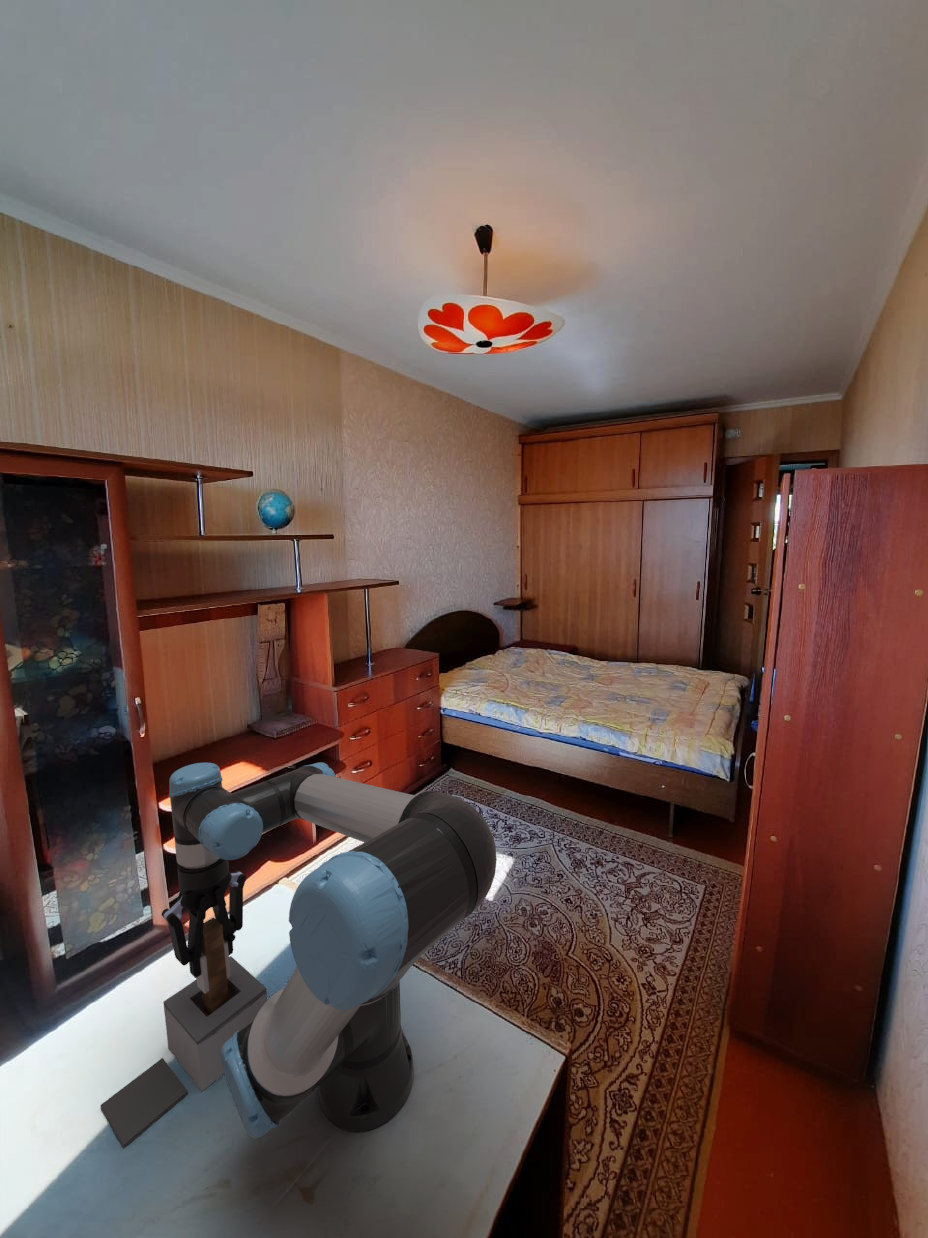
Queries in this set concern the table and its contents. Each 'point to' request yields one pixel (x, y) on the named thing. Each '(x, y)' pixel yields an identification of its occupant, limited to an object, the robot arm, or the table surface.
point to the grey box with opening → (210, 1023)
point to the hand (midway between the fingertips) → (214, 980)
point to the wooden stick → (214, 966)
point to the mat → (143, 1101)
